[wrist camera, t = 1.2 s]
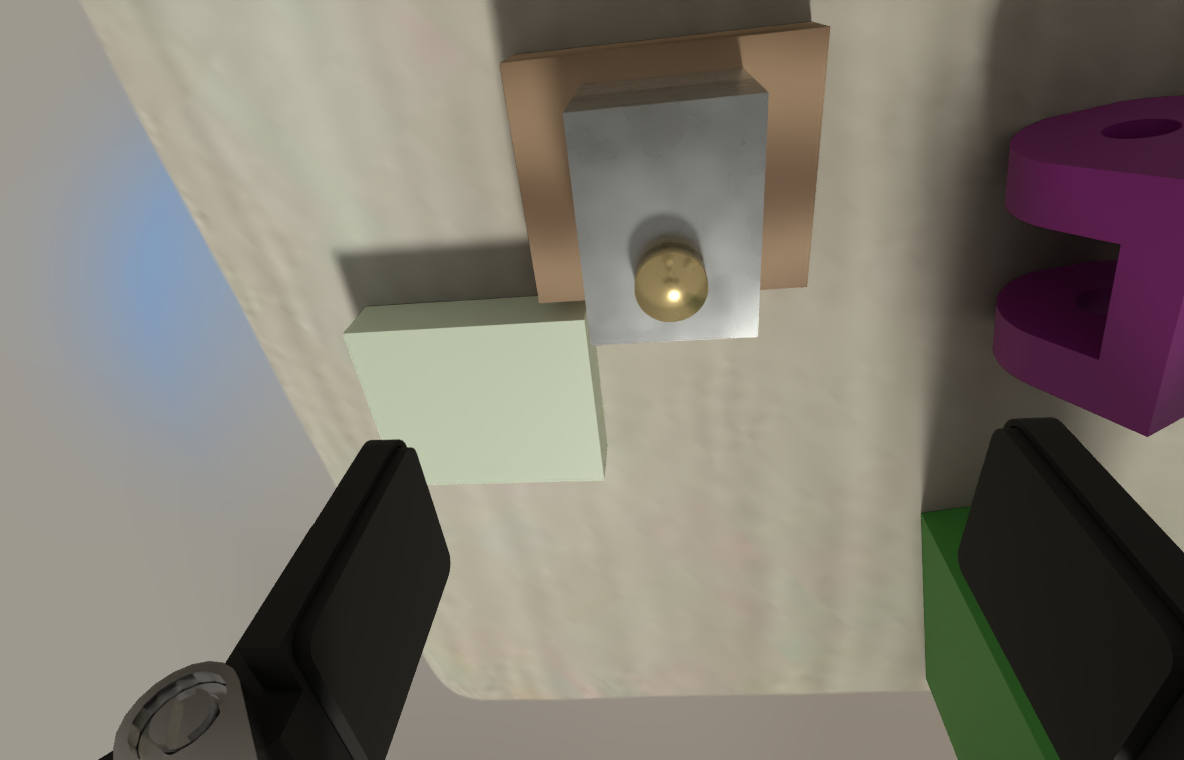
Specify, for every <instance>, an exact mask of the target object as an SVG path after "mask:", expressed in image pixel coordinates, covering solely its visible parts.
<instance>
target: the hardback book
mask: <svg viewBox="0 0 1184 760" xmlns="http://www.w3.org/2000/svg"><path fill="white" fill-rule="evenodd" d="M970 508H971V506H968V507H961V508H954V509H947V510H940V511H933V512H926V513H921V531H922V563H923V595H924V627H925V659H926V680H927V682H928V685H929V687H930V690H931V692H932V695H933V697H934V700H935V702H936V705H937V708H938V710H939V713H940V715H941V718H942V720H943V723H944V725H945V728H946V730H947V733H948V735H949V738H950V741H951V743H952V745H953V748H954V751H955V753H956V756H957V758H958V760H1060V758H1059V756H1058V755H1057V753H1056V751H1055V749H1054V747H1053V745H1052V743H1051V741H1050V739H1049V738H1048V736H1047V734H1046V732H1045V730H1044V728H1043V726H1042V724H1041V722H1040V720H1039V719H1038V717H1037V715H1036V713H1035V711H1034V709H1033V707H1032V705H1031V703H1030V702H1029V700H1028V698H1027V696H1026V694H1025V692H1024V690H1023V688H1022V686H1021V684H1020V683H1019V681H1018V679H1017V677H1016V675H1015V673H1014V671H1013V669H1012V667H1011V666H1010V664H1009V662H1008V660H1007V658H1006V656H1005V654H1004V652H1003V650H1002V649H1001V647H1000V645H999V643H998V641H997V639H996V637H995V635H994V633H993V631H992V630H991V628H990V626H989V624H988V622H987V620H986V618H985V616H984V614H983V613H982V611H981V609H980V607H979V605H978V603H977V601H976V599H975V597H974V595H973V594H972V592H971V590H970V588H969V586H968V584H967V582H966V580H965V578H964V577H963V575H962V572H961V570H960V567H959V563H958V549H959V545H960V542H961V538H962V535H963V532H964V528H965V525H966V522H967V518H968V515H969V511H970Z"/></svg>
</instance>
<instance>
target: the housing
mask: <svg viewBox="0 0 1184 760" xmlns="http://www.w3.org/2000/svg"><path fill="white" fill-rule="evenodd" d="M768 101H769V92H768V91H767V90H766V89H765V88H764V87H763V86H762V85H761V84H760V83H759V82H758V81H757V80H755V79H754V78H753V77H752V76H751V75H750V74H749V73H748V72H747V71H746V70H745V69H744V68H743V67H739V68H729V69H720V70H710V71H701V72H691V73H681V74H672V75H662V76H653V77H643V78H634V79H624V80H614V81H605V82H595V83H586V84H581V85H580V87H579V88H578V90H577V91H576V93H575V94H574V96H573V98H572V99H571V101H570V102H569V104H568V105H567V107H566V108H565V110H564V112H563V120H564V129H565V137H566V145H567V153H568V162H569V170H570V178H571V186H572V195H573V203H574V211H575V220H576V228H577V236H578V244H579V253H580V261H581V269H582V277H583V286H584V294H585V302H586V310H587V319H588V327H589V335H590V344H591V345H610V344H629V343H648V342H668V341H687V340H706V339H725V338H744V337H758V323H759V300H760V278H761V256H762V234H763V212H764V189H765V167H766V145H767V123H768Z"/></svg>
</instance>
